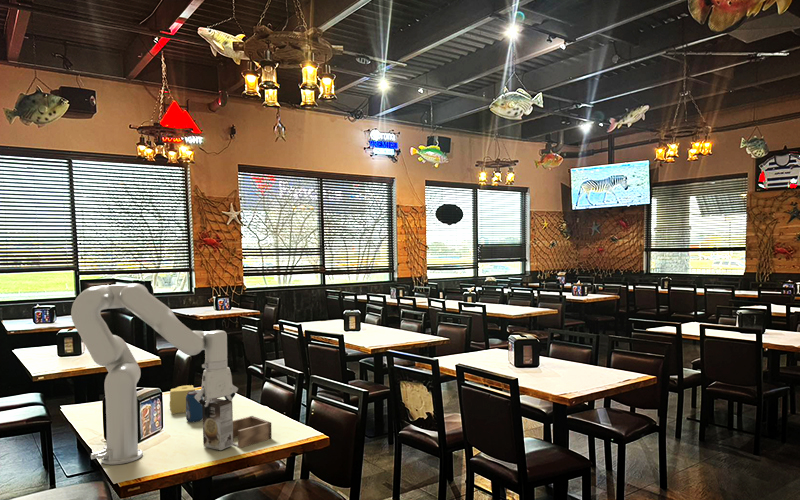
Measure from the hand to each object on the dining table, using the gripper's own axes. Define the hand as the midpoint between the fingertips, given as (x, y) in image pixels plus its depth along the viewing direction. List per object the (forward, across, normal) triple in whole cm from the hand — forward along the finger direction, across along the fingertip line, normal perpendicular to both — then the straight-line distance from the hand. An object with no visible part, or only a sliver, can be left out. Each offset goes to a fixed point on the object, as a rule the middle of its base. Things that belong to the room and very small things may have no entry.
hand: (217, 414), depth 196 cm
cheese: (+12, +14, +58) cm, 61 cm away
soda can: (+12, +10, +38) cm, 41 cm away
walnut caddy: (+12, +12, 0) cm, 17 cm away
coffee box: (+12, 0, 0) cm, 12 cm away
